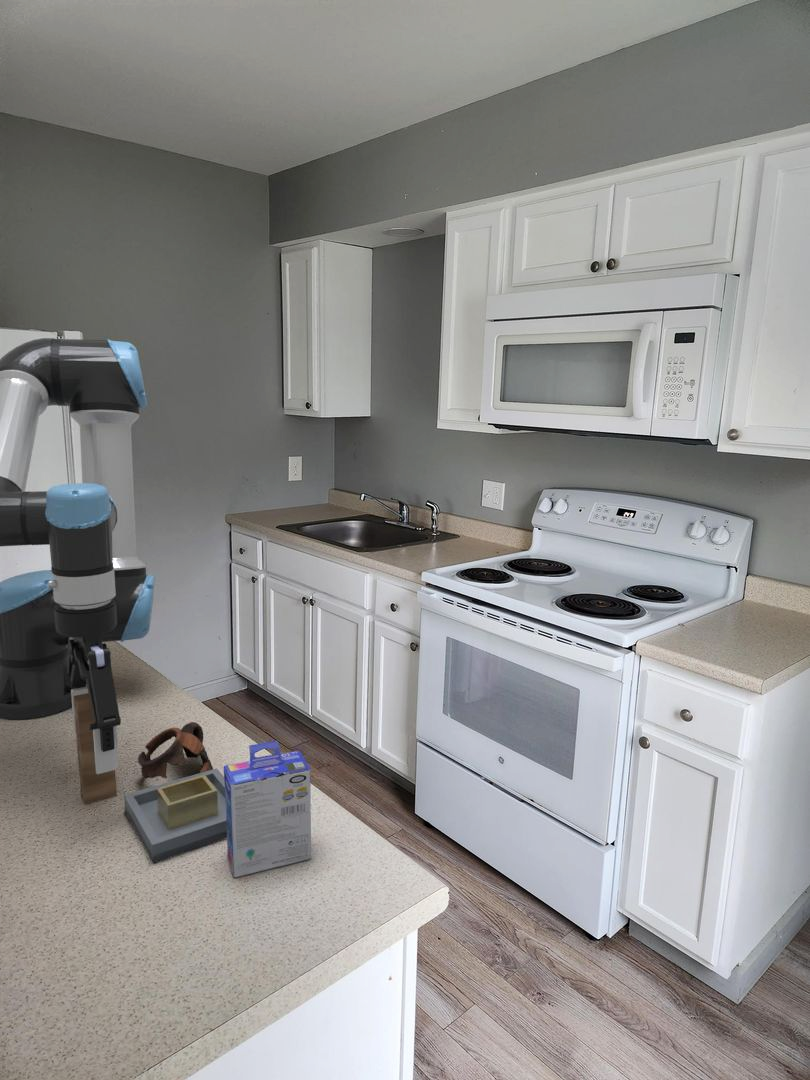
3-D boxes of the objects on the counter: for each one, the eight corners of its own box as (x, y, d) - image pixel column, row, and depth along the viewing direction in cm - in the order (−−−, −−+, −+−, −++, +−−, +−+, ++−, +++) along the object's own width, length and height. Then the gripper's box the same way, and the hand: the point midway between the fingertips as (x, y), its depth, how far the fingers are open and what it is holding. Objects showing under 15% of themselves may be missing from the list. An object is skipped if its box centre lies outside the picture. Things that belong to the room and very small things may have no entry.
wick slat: (80, 795, 102) (73, 696, 99) (112, 787, 105) (105, 689, 102) (84, 804, 100) (77, 703, 97) (116, 795, 103) (110, 696, 100)
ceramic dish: (124, 811, 99) (123, 795, 98) (217, 784, 106) (216, 768, 106) (153, 863, 88) (152, 845, 88) (253, 828, 96) (253, 811, 95)
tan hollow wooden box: (157, 812, 97) (156, 788, 96) (205, 797, 101) (204, 774, 100) (169, 830, 93) (168, 805, 93) (218, 814, 97) (217, 790, 96)
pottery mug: (207, 797, 104) (174, 756, 101) (154, 815, 106) (120, 776, 103) (231, 738, 114) (202, 700, 111) (182, 756, 117) (152, 719, 114)
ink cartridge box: (301, 834, 95) (300, 731, 92) (314, 859, 90) (313, 751, 87) (224, 852, 91) (221, 745, 88) (233, 880, 86) (230, 767, 83)
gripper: (37, 584, 104) (49, 721, 109) (74, 632, 84) (86, 798, 89) (93, 577, 109) (102, 710, 113) (140, 622, 89) (149, 781, 93)
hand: (95, 749), depth 101 cm, fingers open, 13 cm apart
